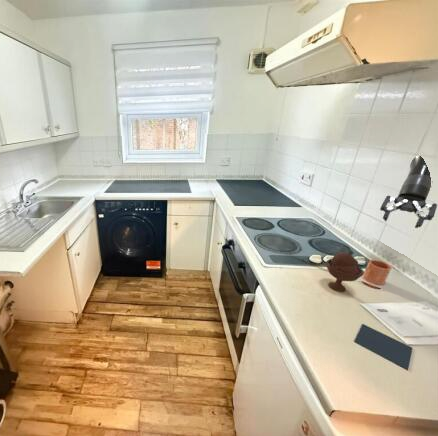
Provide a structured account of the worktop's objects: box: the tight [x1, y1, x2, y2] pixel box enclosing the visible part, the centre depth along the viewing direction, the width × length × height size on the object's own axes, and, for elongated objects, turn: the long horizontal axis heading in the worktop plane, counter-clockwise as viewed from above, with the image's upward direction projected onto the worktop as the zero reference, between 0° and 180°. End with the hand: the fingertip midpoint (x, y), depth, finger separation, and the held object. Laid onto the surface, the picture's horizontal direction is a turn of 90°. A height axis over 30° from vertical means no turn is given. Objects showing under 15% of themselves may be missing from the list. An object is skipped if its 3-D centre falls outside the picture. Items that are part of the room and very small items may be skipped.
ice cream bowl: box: [325, 252, 365, 293], centre depth 88 cm, size 11×11×15 cm
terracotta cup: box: [361, 259, 392, 290], centre depth 91 cm, size 6×6×9 cm
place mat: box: [353, 323, 413, 371], centre depth 68 cm, size 11×10×1 cm
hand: (400, 223), depth 91 cm, fingers open, 8 cm apart
